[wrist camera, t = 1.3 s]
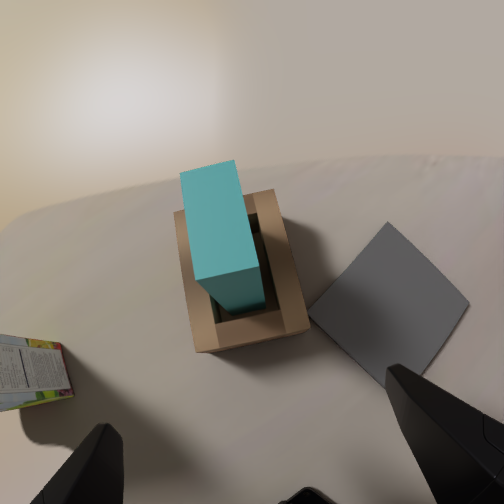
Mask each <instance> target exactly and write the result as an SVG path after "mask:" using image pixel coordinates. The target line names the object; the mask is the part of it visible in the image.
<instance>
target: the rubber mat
mask: <svg viewBox="0 0 504 504" xmlns="http://www.w3.org/2000/svg"><path fill="white" fill-rule="evenodd" d="M468 304H469V301H468V300H467V299H466V298H465V297H464V296H463V295H462V294H461V293H460V292H459V290H458V289H457V288H456V287H455V286H454V285H453V284H452V283H451V282H450V281H449V280H448V279H447V278H446V277H445V276H444V275H443V274H442V273H441V272H440V271H439V270H438V269H437V268H436V267H435V266H434V265H433V264H432V263H431V262H430V261H429V260H428V259H427V258H426V257H425V256H424V255H423V254H422V253H421V252H420V251H419V250H418V249H417V248H416V247H415V246H414V245H413V244H412V243H411V242H410V241H409V240H407V239H406V238H405V237H404V236H403V235H402V234H401V233H400V232H399V231H398V230H397V229H396V228H394V227H393V226H392V225H391V224H390V223H389V222H388V221H387V223H386V224H385V225H384V226H383V227H382V229H381V230H380V231H379V232H378V233H377V234H376V236H375V237H374V238H373V239H372V240H371V241H370V243H369V244H368V245H367V246H366V247H365V248H364V250H363V251H362V252H361V253H360V254H359V255H358V256H357V257H356V259H355V260H354V261H353V262H352V263H351V264H350V265H349V266H348V268H347V269H346V270H345V271H344V272H343V273H342V274H341V275H340V276H339V277H338V279H337V280H336V281H335V282H334V283H333V284H332V285H331V286H330V287H329V288H328V289H327V290H326V292H325V293H324V294H323V295H322V296H321V297H320V298H319V299H318V300H317V301H316V302H315V303H314V304H313V305H312V306H311V307H310V308H309V309H308V310H307V314H308V316H309V317H310V318H311V319H312V320H313V321H314V322H315V323H316V324H317V325H318V326H319V327H320V328H321V329H322V330H323V331H324V332H325V333H326V334H327V335H329V336H330V337H331V338H332V339H333V340H334V341H335V342H336V343H337V344H338V345H339V346H340V347H341V348H342V349H343V350H344V351H345V352H346V353H347V354H348V355H350V356H351V357H352V358H353V359H354V360H355V361H356V362H357V363H358V364H359V365H360V366H361V367H362V368H363V369H364V370H365V371H366V372H367V373H369V374H370V375H371V376H372V377H373V378H374V379H375V380H376V381H377V382H378V383H379V384H380V385H381V386H382V387H383V388H384V389H385V376H386V369H387V367H388V366H391V365H394V364H396V363H400V364H402V365H403V366H405V367H407V368H408V369H410V370H412V371H413V372H415V373H417V374H418V375H420V374H421V373H422V372H423V371H424V369H425V368H426V367H427V365H428V364H429V363H430V361H431V360H432V358H433V357H434V356H435V354H436V353H437V352H438V350H439V349H440V347H441V346H442V344H443V343H444V341H445V340H446V339H447V337H448V336H449V334H450V333H451V331H452V330H453V328H454V326H455V325H456V323H457V322H458V320H459V319H460V317H461V315H462V314H463V312H464V310H465V309H466V307H467V305H468ZM385 390H386V389H385Z"/></svg>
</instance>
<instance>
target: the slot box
mask: <svg viewBox="0 0 504 504" xmlns="http://www.w3.org/2000/svg"><path fill="white" fill-rule="evenodd" d="M243 199H244V203H245V207H246V212H247V216H248V220H249V224H250V229H251V233H252V237H253V241H254V246H255V250H256V254H257V259H258V263H259V267H260V273H261V279H262V285H263V291H264V297H265V303H266V308H265V309H261V310H257V311H252V312H248V313H243V314H239V315H234V316H232V315H231V314H230V313H229V312H228V311H227V310H226V309H224V308H223V307H222V306H221V305H220V304H219V303H218V302H217V301H216V300H215V299H214V298H213V297H212V296H211V295H210V294H209V293H208V292H207V291H206V290H205V289H204V288H203V287H202V286H201V285H200V284H199V283H198V282H197V281H196V280H195V275H194V269H193V263H192V257H191V250H190V244H189V237H188V231H187V224H186V217H185V210H181V211H177V212H174V220H175V228H176V235H177V243H178V250H179V257H180V264H181V271H182V277H183V283H184V290H185V296H186V302H187V308H188V313H189V319H190V325H191V330H192V335H193V341H194V346H195V351H196V353H212V352H218V351H223V350H228V349H233V348H238V347H243V346H247V345H252V344H257V343H261V342H266V341H270V340H274V339H279V338H283V337H287V336H291V335H295V334H299V333H303V332H306V331H307V330H308V329H310V328H311V326H310V322H309V318H308V314H307V310H306V306H305V302H304V298H303V294H302V290H301V287H300V283H299V279H298V275H297V271H296V268H295V264H294V260H293V256H292V253H291V249H290V245H289V242H288V238H287V234H286V231H285V227H284V224H283V220H282V216H281V213H280V209H279V206H278V202H277V199H276V195H275V192H274V189H270V190H266V191H261V192H256V193H252V194H247V195H243Z"/></svg>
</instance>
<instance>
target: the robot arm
mask: <svg viewBox="0 0 504 504" xmlns="http://www.w3.org/2000/svg"><path fill="white" fill-rule="evenodd" d="M385 389H386V392H387V394H388V397H389V400H390V402H391V405H392V407H393V410H394V413H395V416H396V418H397V421H398V424H399V426H400V429H401V431H402V433H403V435H404V437H405V439H406V441H407V443H408V445H409V447H410V449H411V451H412V453H413V455H414V457H415V459H416V461H417V463H418V465H419V467H420V469H421V471H422V473H423V475H424V477H425V479H426V481H427V483H428V485H429V487H430V489H431V492H432V494H433V496H434V498H435V500H436V502H437V504H504V424H502V423H500V422H499V421H497V420H495V419H493V418H491V417H489V416H488V415H486V414H483V413H482V412H481V411H479V410H477V409H476V408H474V407H472V406H470V405H469V404H467V403H465V402H464V401H462V400H460V399H459V398H457V397H455V396H454V395H452V394H450V393H448V392H447V391H445V390H443V389H442V388H440V387H438V386H437V385H435V384H433V383H432V382H430V381H428V380H427V379H425V378H423V377H422V376H420V375H418V374H417V373H415V372H413V371H412V370H410V369H408V368H407V367H405V366H403V365H402V364H400V363H396V364H394V365H391V366H388V367H387V369H386V376H385ZM123 490H124V465H123V441H122V437H121V436H120V434H119V433H118V432H117V431H116V430H115V429H114V428H113V426H112V425H111V424H109V423H99V424H97V425H96V426H95V427H94V429H93V430H92V431H91V432H90V433H89V434H88V436H87V437H86V438H85V439H84V440H83V441H82V443H81V444H80V445H79V446H78V447H77V449H76V450H75V451H74V452H73V453H72V454H71V456H70V457H69V458H68V459H67V460H66V462H65V463H64V464H63V465H62V466H61V468H60V469H59V470H58V471H57V472H56V474H55V475H54V476H53V477H52V478H51V480H50V481H49V482H48V483H47V484H46V485H45V486H44V488H43V490H41V491H40V493H39V494H38V495H37V496H36V497H35V498H34V499H33V500H32V502H31V503H30V504H123ZM305 492H310V493H309V494H308V495H304V493H305ZM278 504H332V503H330V502H329V501H327V500H326V499H325V498H323V497H322V496H321V495H319V494H318V493H317V492H315V491H314V490H313V489H312V488H310V487H304V488H302V489H301V490H300V491H298V492H297V493H296V494H295V495H293V496H292V497H291V498H289V499H288V500H287V501H286V500H285V501H281V502H280V503H278Z"/></svg>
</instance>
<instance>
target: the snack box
mask: <svg viewBox="0 0 504 504" xmlns="http://www.w3.org/2000/svg"><path fill="white" fill-rule="evenodd" d="M73 396H74V392H73V390H72V386H71V383H70V379H69V376H68V373H67V369H66V365H65V361H64V358H63V354H62V350H61V345H60V343H59V342H51V341H43V340H36V339H28V338H22V337H16V336H9V335H4V334H0V412H2V411H8V410H14V409H19V408H24V407H29V406H34V405H38V404H43V403H48V402H52V401H56V400H61V399H66V398H70V397H73Z"/></svg>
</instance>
